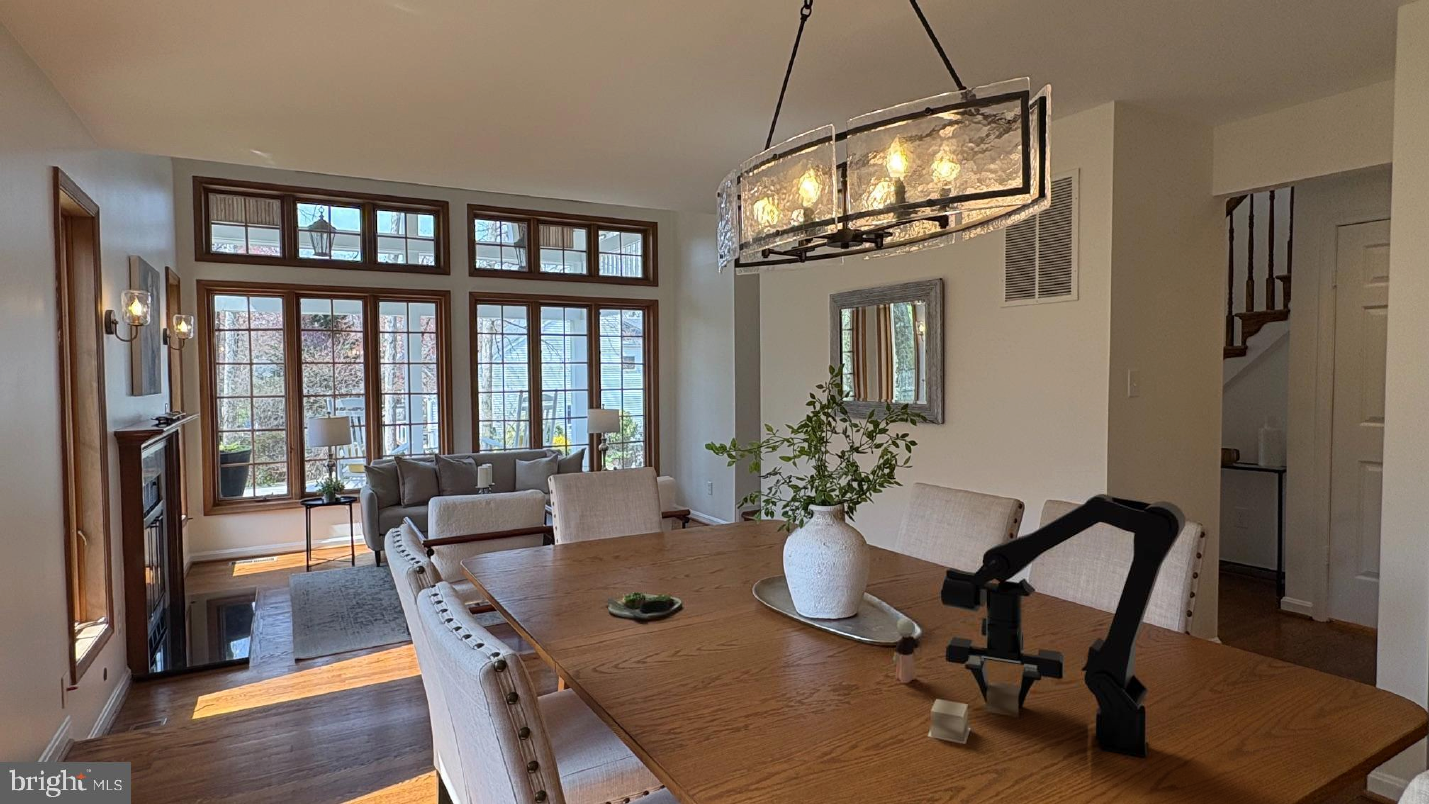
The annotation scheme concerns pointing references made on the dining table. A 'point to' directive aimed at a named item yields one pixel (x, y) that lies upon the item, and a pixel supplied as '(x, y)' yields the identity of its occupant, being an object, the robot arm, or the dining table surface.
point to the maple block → (949, 720)
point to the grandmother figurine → (906, 651)
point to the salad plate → (644, 606)
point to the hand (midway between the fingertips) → (1003, 705)
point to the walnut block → (1003, 699)
